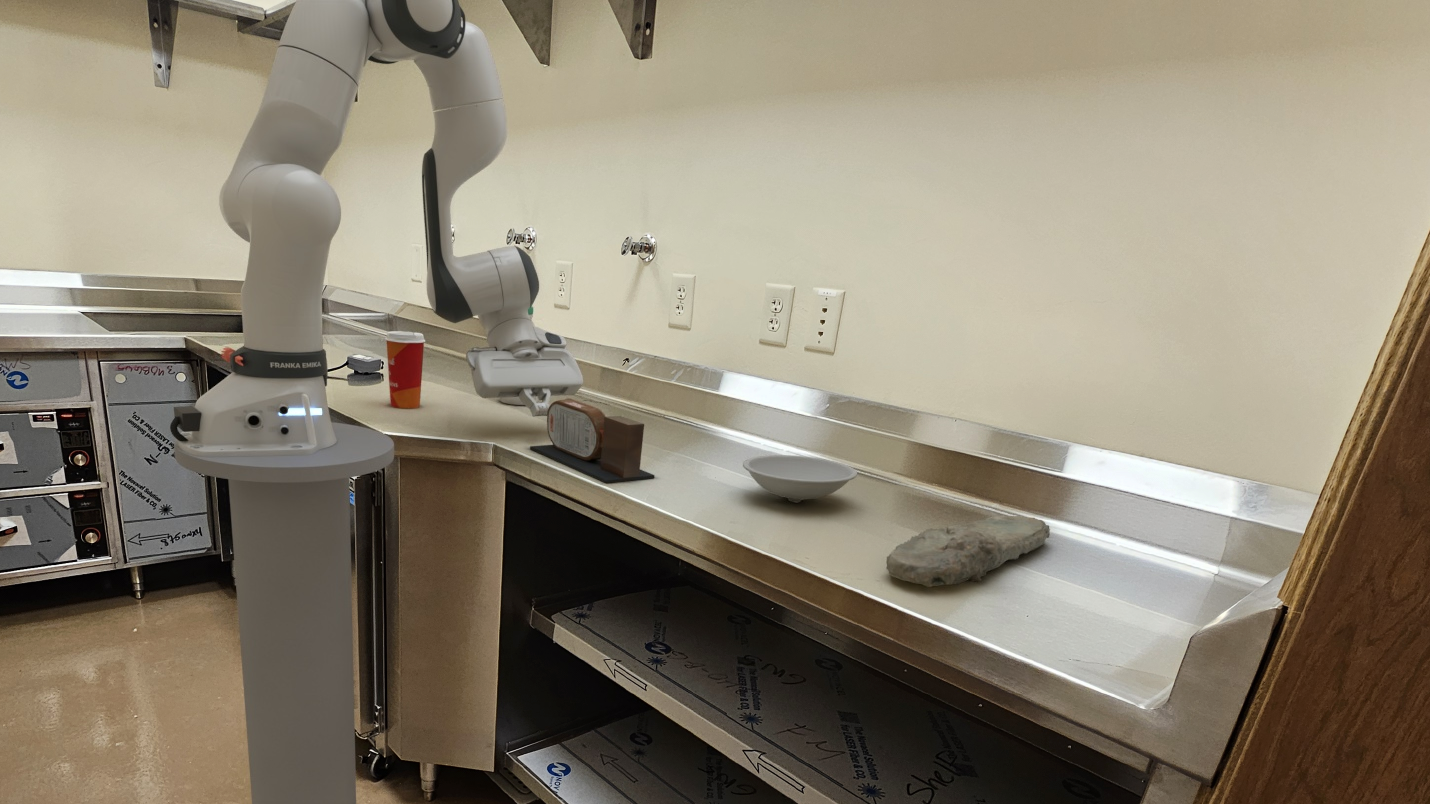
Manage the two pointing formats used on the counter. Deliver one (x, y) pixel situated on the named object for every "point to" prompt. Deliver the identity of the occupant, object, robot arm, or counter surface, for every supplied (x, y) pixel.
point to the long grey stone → (965, 550)
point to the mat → (585, 465)
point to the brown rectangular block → (622, 446)
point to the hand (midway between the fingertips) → (542, 414)
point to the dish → (798, 475)
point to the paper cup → (405, 368)
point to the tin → (576, 428)
